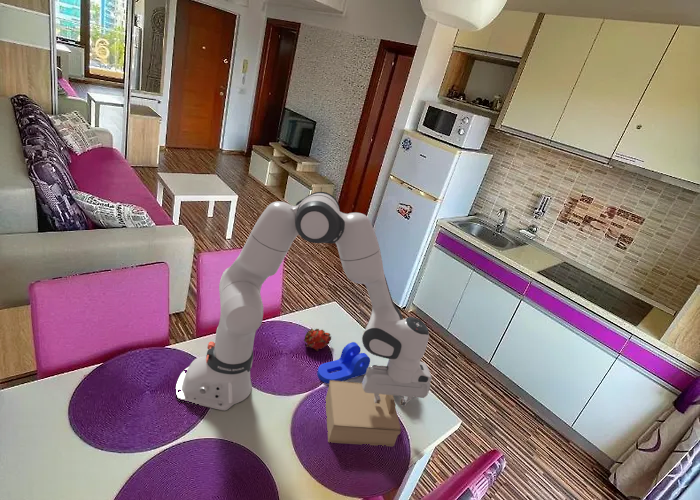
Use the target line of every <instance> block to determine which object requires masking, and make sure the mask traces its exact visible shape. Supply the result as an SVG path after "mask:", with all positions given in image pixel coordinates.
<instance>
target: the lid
mask: <svg viewBox="0 0 700 500" xmlns="http://www.w3.org/2000/svg"><path fill="white" fill-rule="evenodd" d="M329 384H330V392H331V403H332V414H333V430H340V431H355V432H369V433H383V434H398V436H399V435H400V434H401V431H402V428H401V424H400V420H399V416H398V413H397V410H396V405H397V404H396V401H395V398H394V395H385V394H379V396H380V399H381V401H380V403H374V397H375V396H374V393H365V392H364V390H363V387H362V382H356V381H355V382H354V381H346V380H344V381H335V380H330V382H329ZM329 384H328V385H329Z"/></svg>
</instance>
